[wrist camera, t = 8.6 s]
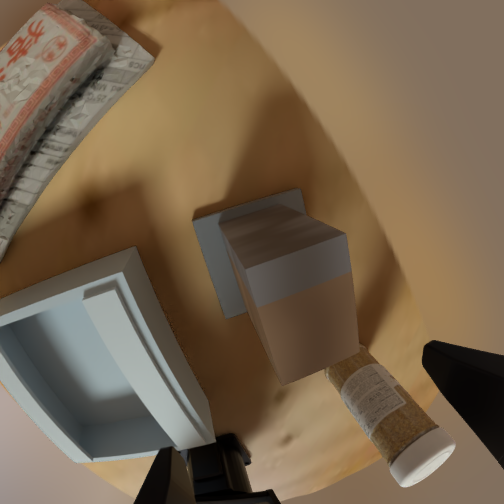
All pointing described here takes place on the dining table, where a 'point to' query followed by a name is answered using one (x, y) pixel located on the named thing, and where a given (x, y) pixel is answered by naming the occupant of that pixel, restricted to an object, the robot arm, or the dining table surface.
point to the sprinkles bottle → (390, 418)
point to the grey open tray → (101, 364)
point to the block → (294, 288)
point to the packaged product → (56, 97)
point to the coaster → (217, 251)
